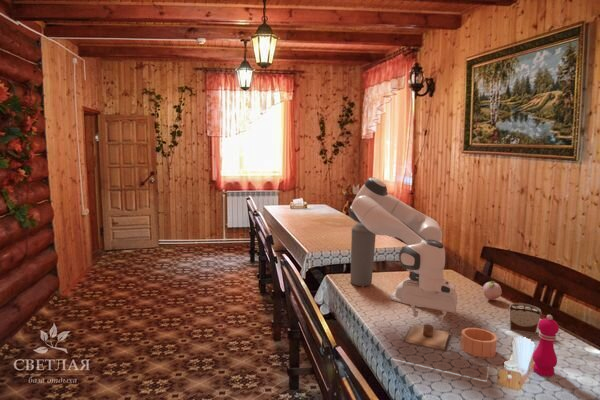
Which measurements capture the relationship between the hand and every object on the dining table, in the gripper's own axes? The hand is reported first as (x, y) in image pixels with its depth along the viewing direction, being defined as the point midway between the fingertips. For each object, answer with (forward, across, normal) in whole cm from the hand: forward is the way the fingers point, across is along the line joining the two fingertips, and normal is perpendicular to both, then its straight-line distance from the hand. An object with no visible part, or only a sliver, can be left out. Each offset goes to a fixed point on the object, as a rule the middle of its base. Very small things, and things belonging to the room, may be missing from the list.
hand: (427, 318), depth 174 cm
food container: (+9, +33, +30) cm, 46 cm away
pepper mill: (+9, +40, -5) cm, 41 cm away
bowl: (+8, +18, 0) cm, 20 cm away
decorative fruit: (+8, +20, +60) cm, 64 cm away
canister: (+9, -43, +52) cm, 68 cm away
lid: (+8, 0, 0) cm, 8 cm away
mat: (+8, 0, 0) cm, 9 cm away
